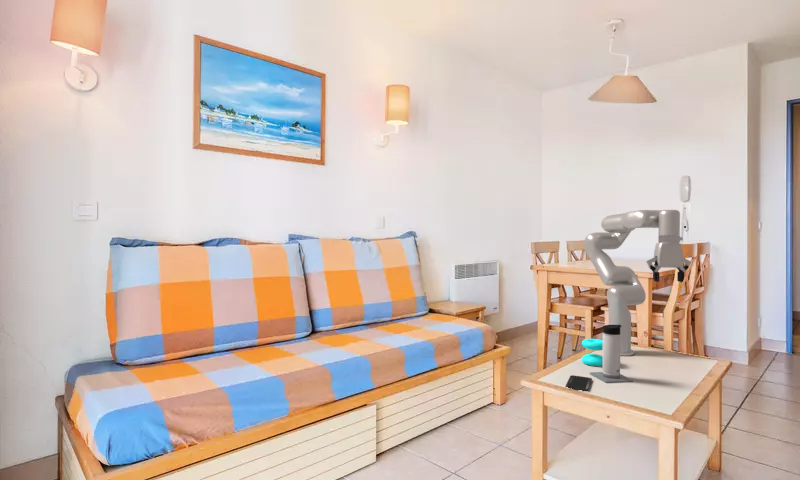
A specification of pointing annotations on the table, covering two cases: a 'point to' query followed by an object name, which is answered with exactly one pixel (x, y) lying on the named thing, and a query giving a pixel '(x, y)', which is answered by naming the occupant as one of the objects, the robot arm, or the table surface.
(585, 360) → the donuts
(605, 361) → the travel mug
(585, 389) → the phone
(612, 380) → the coaster
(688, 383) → the table surface
